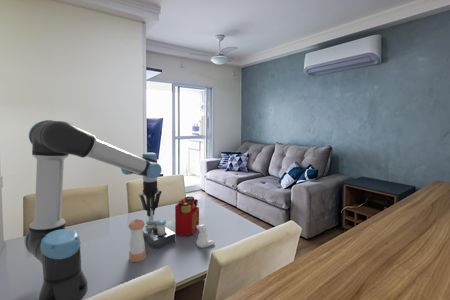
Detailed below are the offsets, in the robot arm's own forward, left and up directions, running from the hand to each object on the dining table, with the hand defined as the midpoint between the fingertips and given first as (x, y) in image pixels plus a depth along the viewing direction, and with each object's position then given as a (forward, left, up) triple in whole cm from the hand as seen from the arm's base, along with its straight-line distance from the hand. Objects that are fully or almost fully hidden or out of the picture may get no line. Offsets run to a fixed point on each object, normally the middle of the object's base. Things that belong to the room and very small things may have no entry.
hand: (150, 220), depth 137 cm
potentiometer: (0, -6, -3) cm, 7 cm away
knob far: (0, 0, -7) cm, 7 cm away
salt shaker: (-15, -17, -9) cm, 24 cm away
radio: (+19, -9, -9) cm, 23 cm away
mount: (0, -6, -8) cm, 10 cm away
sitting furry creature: (+15, -29, -9) cm, 34 cm away
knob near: (0, -12, -3) cm, 12 cm away
